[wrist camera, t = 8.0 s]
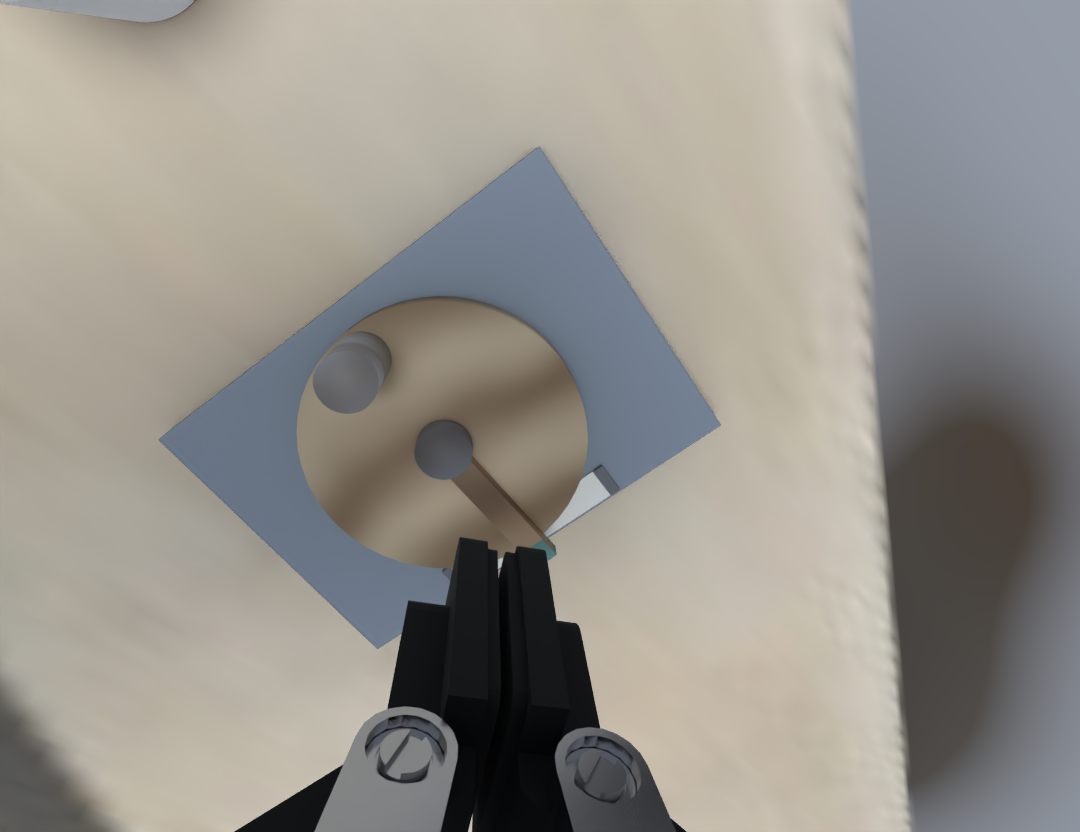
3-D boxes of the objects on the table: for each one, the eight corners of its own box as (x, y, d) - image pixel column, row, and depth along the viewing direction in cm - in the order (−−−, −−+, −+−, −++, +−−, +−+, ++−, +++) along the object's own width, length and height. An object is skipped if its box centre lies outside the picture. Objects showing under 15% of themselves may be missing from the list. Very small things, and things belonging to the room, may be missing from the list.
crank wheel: (647, 464, 35) (674, 514, 30) (445, 607, 37) (437, 677, 32) (463, 233, 30) (456, 245, 25) (244, 416, 32) (196, 461, 27)
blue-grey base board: (381, 632, 40) (376, 651, 38) (172, 428, 34) (155, 441, 32) (712, 415, 36) (722, 426, 34) (537, 147, 30) (539, 146, 29)
